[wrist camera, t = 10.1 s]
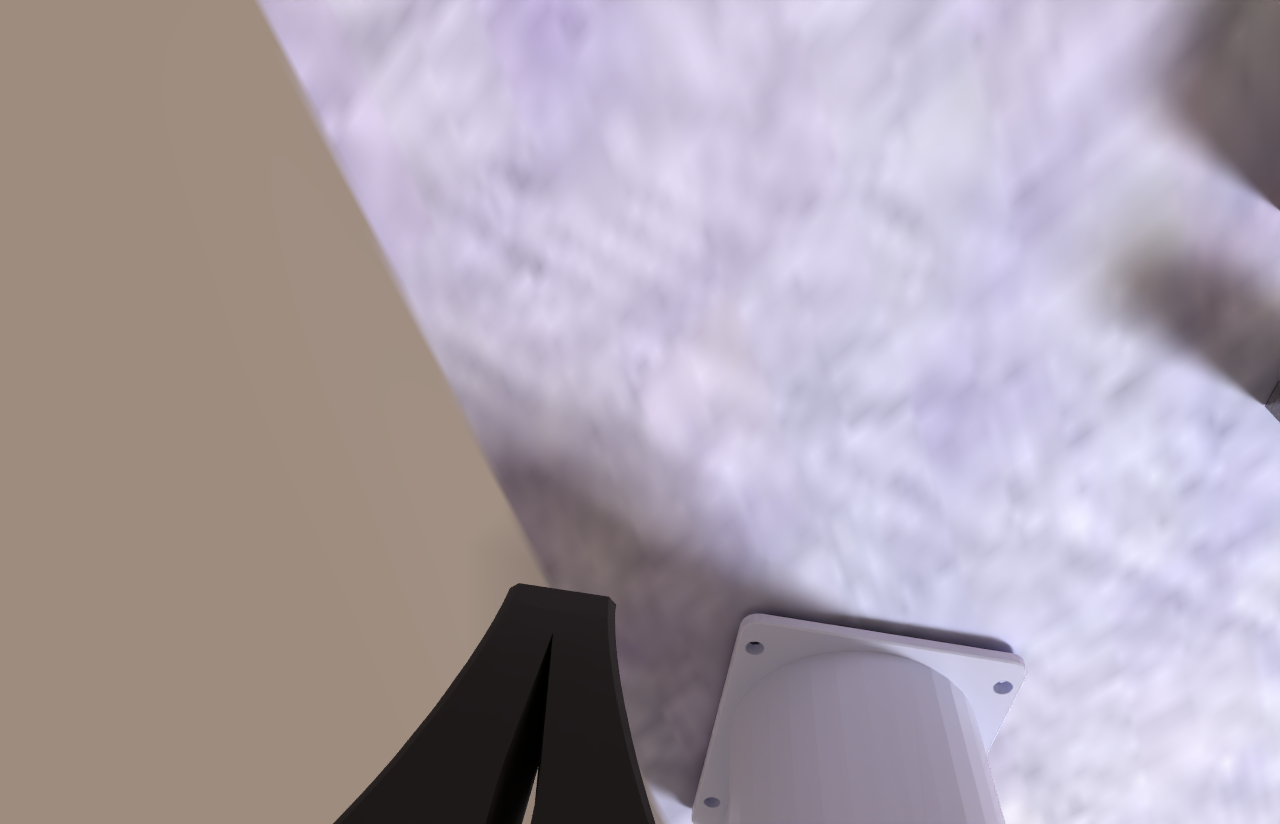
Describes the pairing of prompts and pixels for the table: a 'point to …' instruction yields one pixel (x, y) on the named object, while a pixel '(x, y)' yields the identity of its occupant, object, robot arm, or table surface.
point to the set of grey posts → (1275, 403)
